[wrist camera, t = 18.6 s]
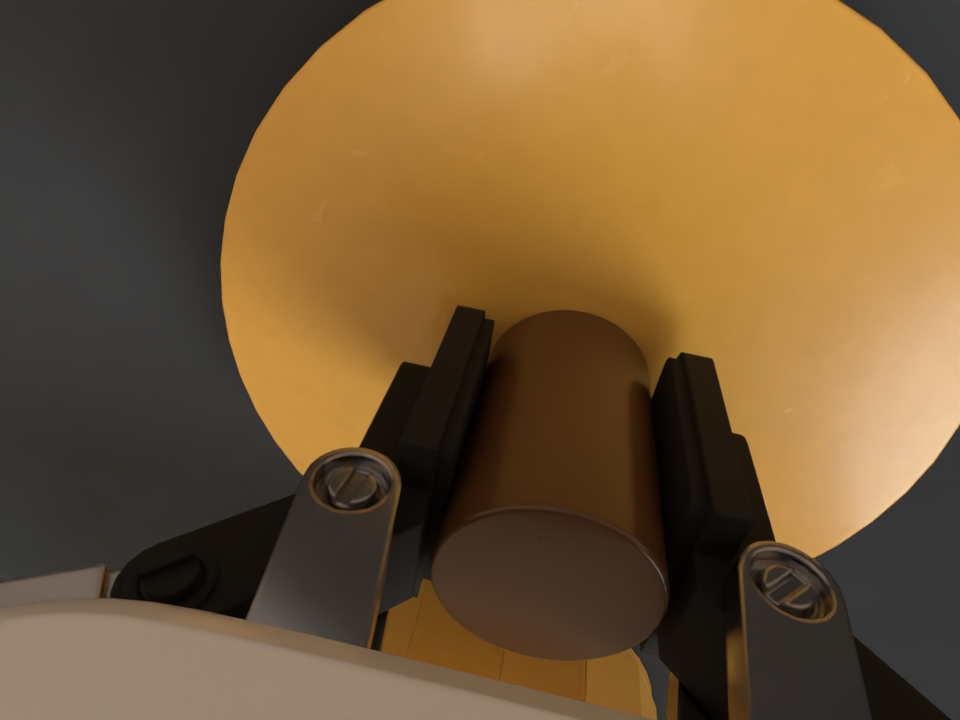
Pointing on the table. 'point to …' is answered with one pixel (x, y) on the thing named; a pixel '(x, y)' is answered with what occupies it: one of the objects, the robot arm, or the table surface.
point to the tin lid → (607, 274)
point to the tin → (514, 659)
